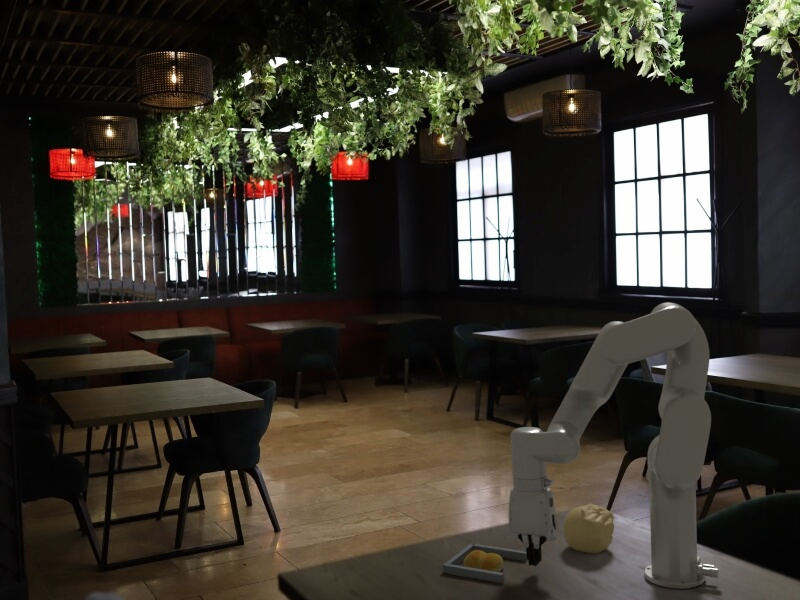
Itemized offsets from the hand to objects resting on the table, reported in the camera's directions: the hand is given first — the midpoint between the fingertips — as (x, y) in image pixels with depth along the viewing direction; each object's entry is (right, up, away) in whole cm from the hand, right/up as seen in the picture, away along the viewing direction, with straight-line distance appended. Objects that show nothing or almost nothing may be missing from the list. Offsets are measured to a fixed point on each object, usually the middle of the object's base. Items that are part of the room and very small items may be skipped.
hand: (534, 563), depth 186 cm
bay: (-10, -2, +6) cm, 12 cm away
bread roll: (-11, -3, +5) cm, 12 cm away
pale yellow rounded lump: (+16, -1, +14) cm, 21 cm away
